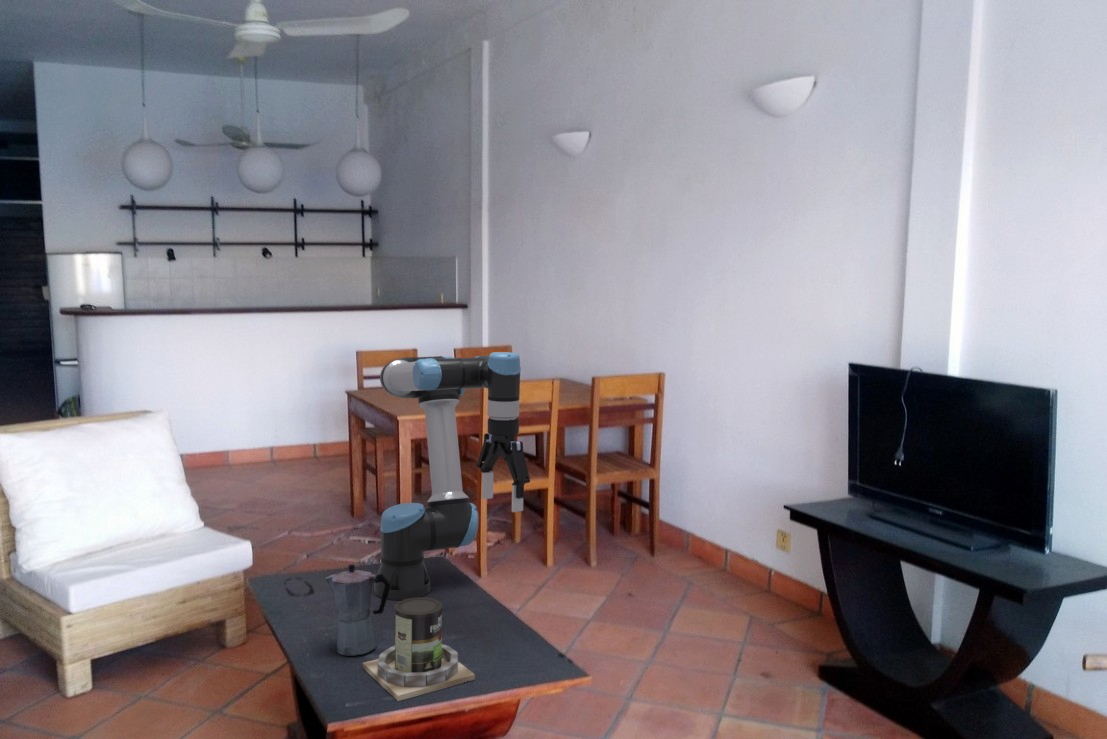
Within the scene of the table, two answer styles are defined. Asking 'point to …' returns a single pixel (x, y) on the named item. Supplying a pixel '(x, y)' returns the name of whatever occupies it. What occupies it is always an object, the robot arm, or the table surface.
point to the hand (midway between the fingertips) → (502, 504)
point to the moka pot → (355, 609)
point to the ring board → (417, 690)
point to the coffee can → (418, 635)
